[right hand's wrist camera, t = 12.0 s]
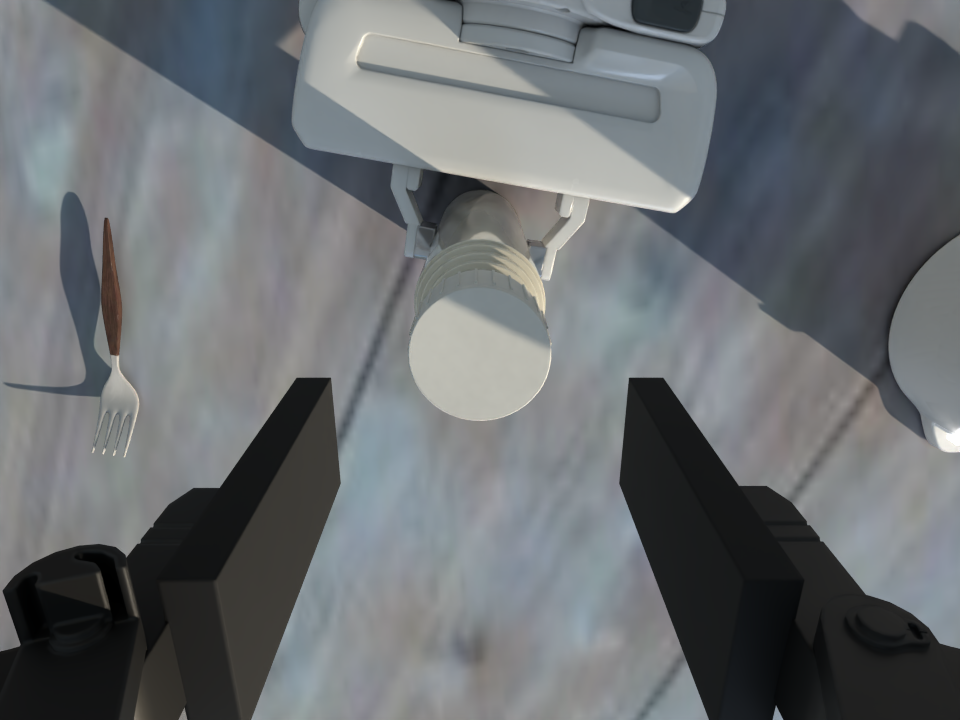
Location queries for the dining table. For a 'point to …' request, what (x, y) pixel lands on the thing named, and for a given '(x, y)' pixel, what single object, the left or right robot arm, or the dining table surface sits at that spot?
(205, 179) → the dining table surface
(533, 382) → the cap
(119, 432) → the fork
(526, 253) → the bottle
